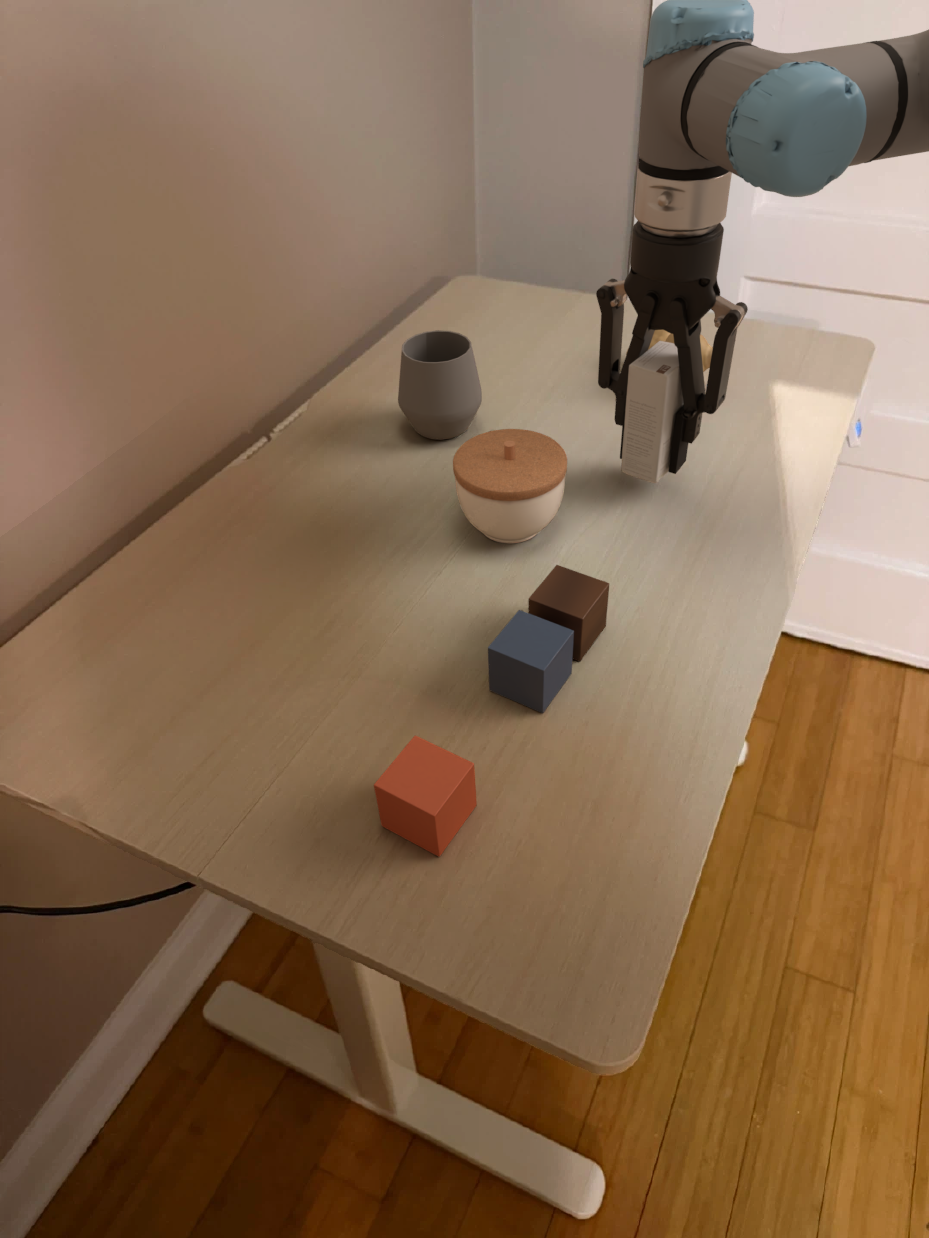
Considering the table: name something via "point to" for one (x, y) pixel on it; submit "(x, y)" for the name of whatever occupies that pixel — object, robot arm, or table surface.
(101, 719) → the table surface
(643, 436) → the cosmetic box
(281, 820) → the table surface
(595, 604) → the walnut block
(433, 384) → the cup
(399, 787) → the terracotta block
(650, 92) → the robot arm
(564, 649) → the slate blue block
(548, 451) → the trinket box
